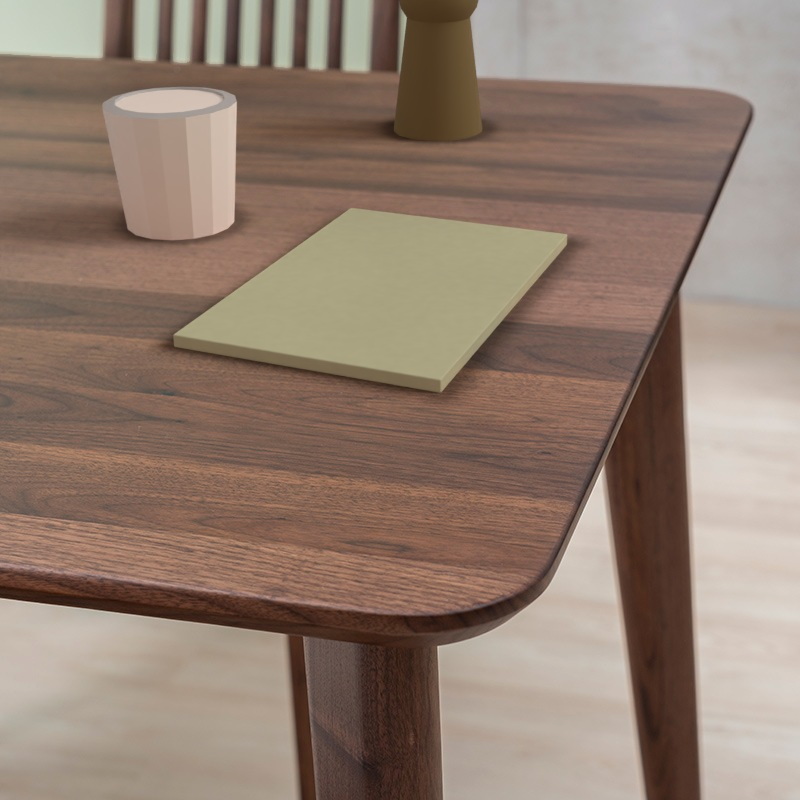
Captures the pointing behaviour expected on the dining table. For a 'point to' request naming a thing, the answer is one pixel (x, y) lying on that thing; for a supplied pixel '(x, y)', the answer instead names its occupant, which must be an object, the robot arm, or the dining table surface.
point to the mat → (379, 298)
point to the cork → (438, 72)
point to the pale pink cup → (174, 160)
